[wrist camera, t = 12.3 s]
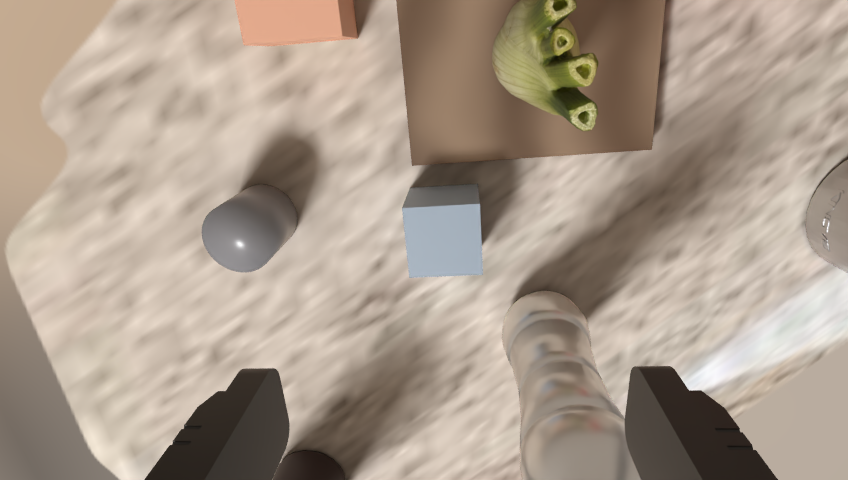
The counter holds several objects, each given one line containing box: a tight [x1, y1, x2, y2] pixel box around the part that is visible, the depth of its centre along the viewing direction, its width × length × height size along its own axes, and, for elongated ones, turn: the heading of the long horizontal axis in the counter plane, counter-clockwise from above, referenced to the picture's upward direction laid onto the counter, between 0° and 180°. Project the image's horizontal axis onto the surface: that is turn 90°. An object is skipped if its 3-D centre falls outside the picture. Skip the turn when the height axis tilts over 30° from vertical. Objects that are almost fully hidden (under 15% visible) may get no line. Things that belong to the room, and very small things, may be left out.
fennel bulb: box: [492, 0, 598, 131], centre depth 24 cm, size 6×5×12 cm
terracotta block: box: [235, 0, 358, 46], centre depth 29 cm, size 6×4×4 cm, turn 95°
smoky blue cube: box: [402, 184, 483, 278], centre depth 33 cm, size 5×5×5 cm
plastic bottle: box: [502, 291, 641, 480], centre depth 29 cm, size 6×7×20 cm
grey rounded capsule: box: [202, 185, 297, 272], centre depth 34 cm, size 5×5×5 cm
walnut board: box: [396, 0, 665, 166], centre depth 30 cm, size 16×13×2 cm
